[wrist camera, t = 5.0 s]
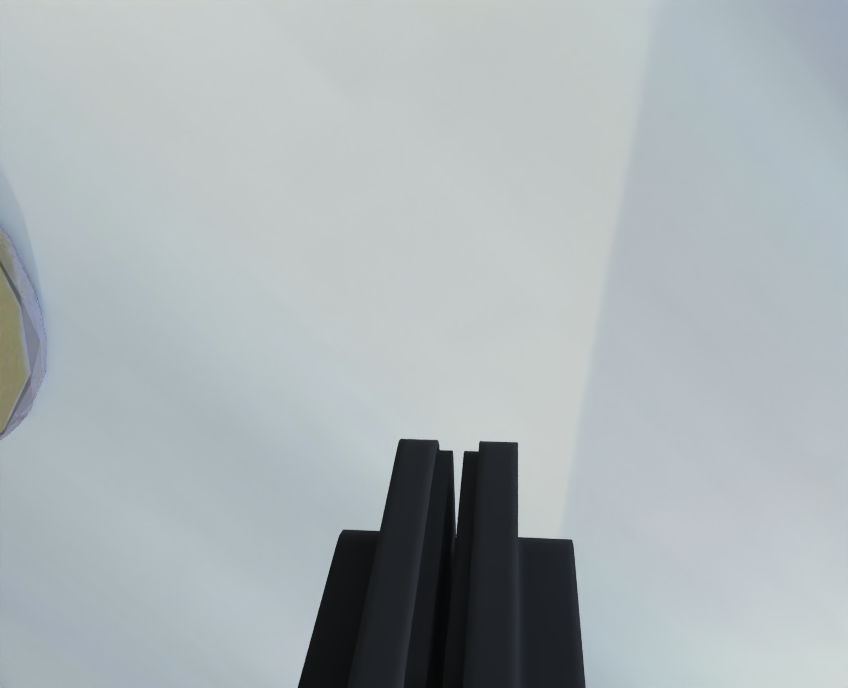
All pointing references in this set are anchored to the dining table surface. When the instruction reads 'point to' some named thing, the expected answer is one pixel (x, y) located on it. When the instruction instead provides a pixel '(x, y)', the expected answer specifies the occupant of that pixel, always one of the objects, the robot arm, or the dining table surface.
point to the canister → (18, 339)
